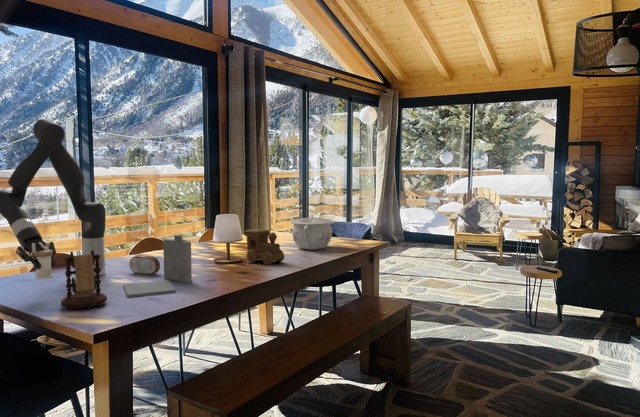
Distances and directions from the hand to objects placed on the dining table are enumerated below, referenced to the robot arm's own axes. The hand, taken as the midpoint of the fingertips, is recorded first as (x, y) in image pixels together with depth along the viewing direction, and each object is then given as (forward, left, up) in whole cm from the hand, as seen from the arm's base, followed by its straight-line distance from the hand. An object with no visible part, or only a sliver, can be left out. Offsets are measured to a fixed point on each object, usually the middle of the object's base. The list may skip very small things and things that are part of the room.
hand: (46, 266), depth 184 cm
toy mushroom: (-2, -1, -4) cm, 5 cm away
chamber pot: (-60, +139, -12) cm, 152 cm away
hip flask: (-10, +50, -12) cm, 53 cm away
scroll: (+17, +12, -12) cm, 24 cm away
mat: (+3, +36, -12) cm, 38 cm away
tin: (-29, +38, -12) cm, 49 cm away
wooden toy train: (-31, +98, -12) cm, 104 cm away
